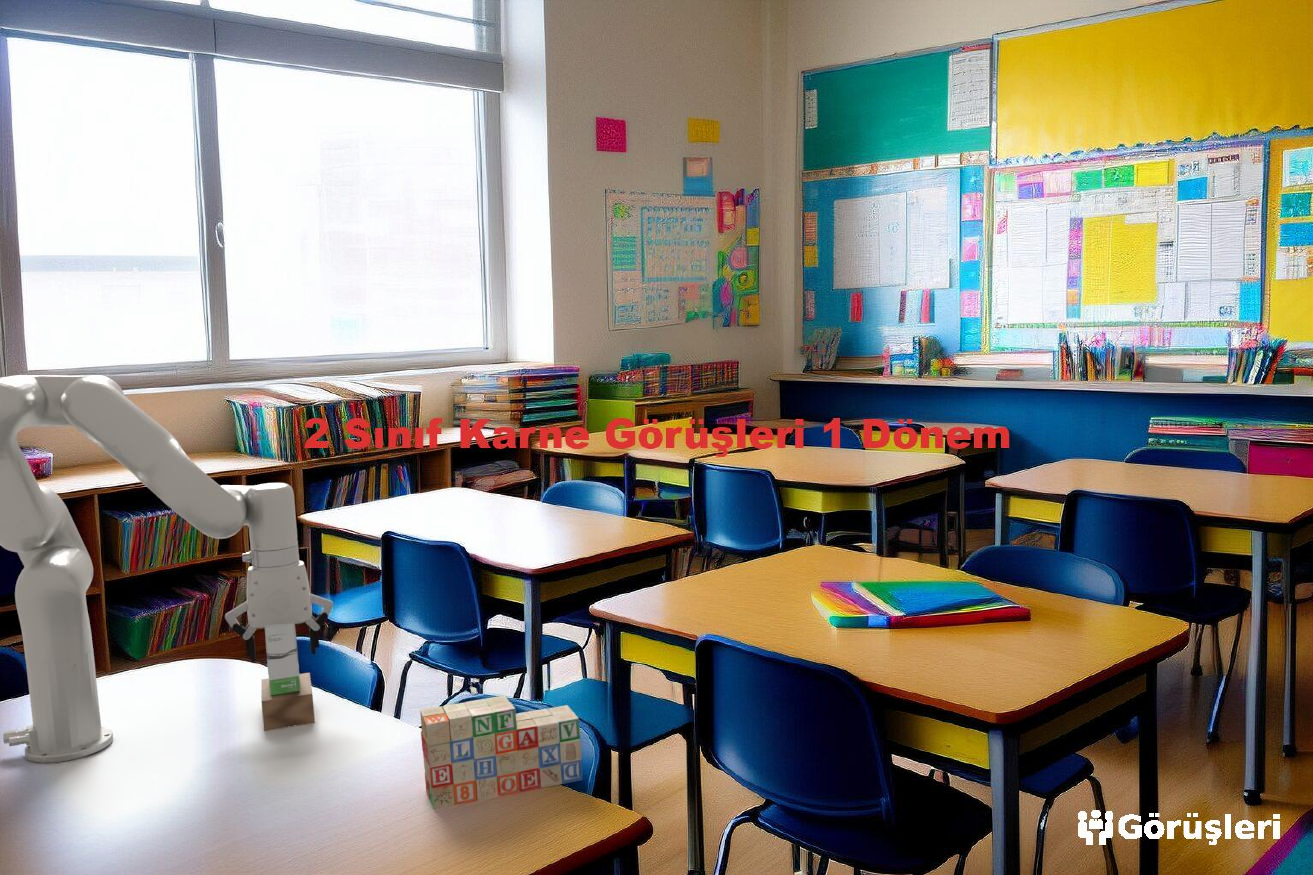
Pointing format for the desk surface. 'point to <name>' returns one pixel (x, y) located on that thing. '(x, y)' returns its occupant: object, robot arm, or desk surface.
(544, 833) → the desk surface
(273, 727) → the walnut block
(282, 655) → the ink box
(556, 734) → the stack of blocks
